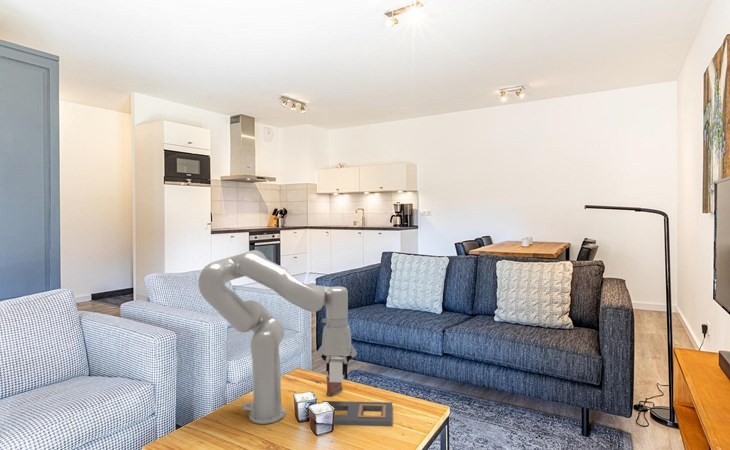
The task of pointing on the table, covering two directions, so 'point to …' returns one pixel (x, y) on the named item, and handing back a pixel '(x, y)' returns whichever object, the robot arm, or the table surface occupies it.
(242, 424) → the table surface
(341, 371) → the peg
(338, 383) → the reddish brown rectangular container
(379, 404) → the dark grey slotted board
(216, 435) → the table surface
